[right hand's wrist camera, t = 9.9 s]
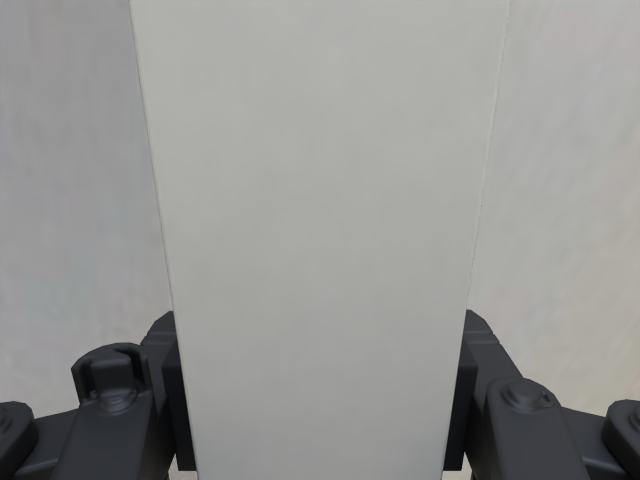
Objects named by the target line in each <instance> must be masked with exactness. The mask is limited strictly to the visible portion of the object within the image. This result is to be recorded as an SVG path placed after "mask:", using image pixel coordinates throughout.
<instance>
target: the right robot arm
mask: <svg viewBox="0 0 640 480" xmlns="http://www.w3.org/2000/svg"><path fill="white" fill-rule="evenodd" d="M71 372H72V375H73V379H74V383H75V387H76V391H77V394H78V398H79V402H80V406H79V408H78V409H74V410H71V411H67V412H63V413H59V414H54V415H50V416H45V417H41V418H37V419H35V418H34V415H33V412H32V409H31V408H30V407H29V406H28V405H27V404H25V403H21V402H15V401H12V402H4V403H0V480H170V479H169V474H168V470H169V468H170V465H171V462H172V460H173V457H174V455H175V453H176V459H177V465H178V471H197V469H196V463H195V456H194V449H193V442H192V435H191V428H190V421H189V415H188V408H187V401H186V394H185V387H184V380H183V373H182V367H181V360H180V353H179V346H178V339H177V332H176V325H175V319H174V312H173V311H169V312H167V313H166V314H165V315H163V316H162V317H160V318H159V319H158V320H156V321H155V322H154V324H153V325H152V327H151V328H150V330H149V331H148V333H147V336H145V337H144V339H143V340H142V342H141V343H140V345H137V344H134V343H114V344H110V345H105V346H102V347H99V348H97V349H95V350H92V351H90V352H88V353H87V354H85V355H84V356H82V357H81V358H79V359H78V360H77V361H76V362H75V364H74V365H73V366H72V368H71ZM464 452H465V453H466V456H467V458H468V461H469V464H470V466H471V469H472V474H471V479H470V480H640V401H636V400H627V399H626V400H620V401H615V402H614V403H613V404H612V405H610V406H609V408H608V411H607V414H606V417H603V416H598V415H594V414H589V413H585V412H580V411H576V410H572V409H568V408H565V407H562V406H561V405H560V403H559V401H558V400H557V398H556V397H555V395H554V394H553V393H552V392H550V391H549V390H548V389H547V388H545V387H544V386H543V385H541V384H538V383H536V382H534V381H532V380H530V379H527V378H523V376H522V375H521V373H520V372H519V370H518V369H517V367H516V366H515V364H514V363H513V361H512V360H511V358H510V357H509V355H508V354H507V352H506V351H505V349H504V348H503V346H502V345H501V344H500V342H499V340H498V339H497V337H496V336H495V334H493V331H492V330H491V328H490V327H489V325H488V324H487V322H486V321H485V320H484V319H483V318H481V317H480V316H479V315H477V314H476V313H474V312H473V311H472V310H466V314H465V321H464V328H463V335H462V342H461V349H460V356H459V363H458V370H457V376H456V383H455V390H454V397H453V404H452V411H451V418H450V425H449V432H448V438H447V445H446V452H445V459H444V466H443V471H461V470H462V464H463V458H464Z"/></svg>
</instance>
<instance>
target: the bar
mask: <svg viewBox="0 0 640 480" xmlns="http://www.w3.org/2000/svg"><path fill="white" fill-rule="evenodd" d="M128 3H129V10H130V17H131V24H132V30H133V37H134V44H135V51H136V58H137V65H138V72H139V78H140V85H141V92H142V99H143V106H144V113H145V120H146V126H147V133H148V140H149V147H150V154H151V161H152V168H153V174H154V181H155V188H156V195H157V202H158V209H159V216H160V222H161V229H162V236H163V243H164V250H165V257H166V264H167V271H168V277H169V284H170V291H171V298H172V305H173V312H174V319H175V325H176V332H177V339H178V346H179V353H180V360H181V367H182V373H183V380H184V387H185V394H186V401H187V408H188V415H189V421H190V428H191V435H192V442H193V449H194V456H195V463H196V469H197V476H198V480H442V473H443V466H444V459H445V452H446V445H447V438H448V432H449V425H450V418H451V411H452V404H453V397H454V390H455V383H456V376H457V370H458V363H459V356H460V349H461V342H462V335H463V328H464V321H465V314H466V308H467V301H468V294H469V287H470V280H471V273H472V266H473V259H474V252H475V246H476V239H477V232H478V225H479V218H480V211H481V204H482V197H483V190H484V184H485V177H486V170H487V163H488V156H489V149H490V142H491V135H492V128H493V122H494V115H495V108H496V101H497V94H498V87H499V80H500V73H501V67H502V60H503V53H504V46H505V39H506V32H507V25H508V18H509V11H510V5H511V0H128Z"/></svg>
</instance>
